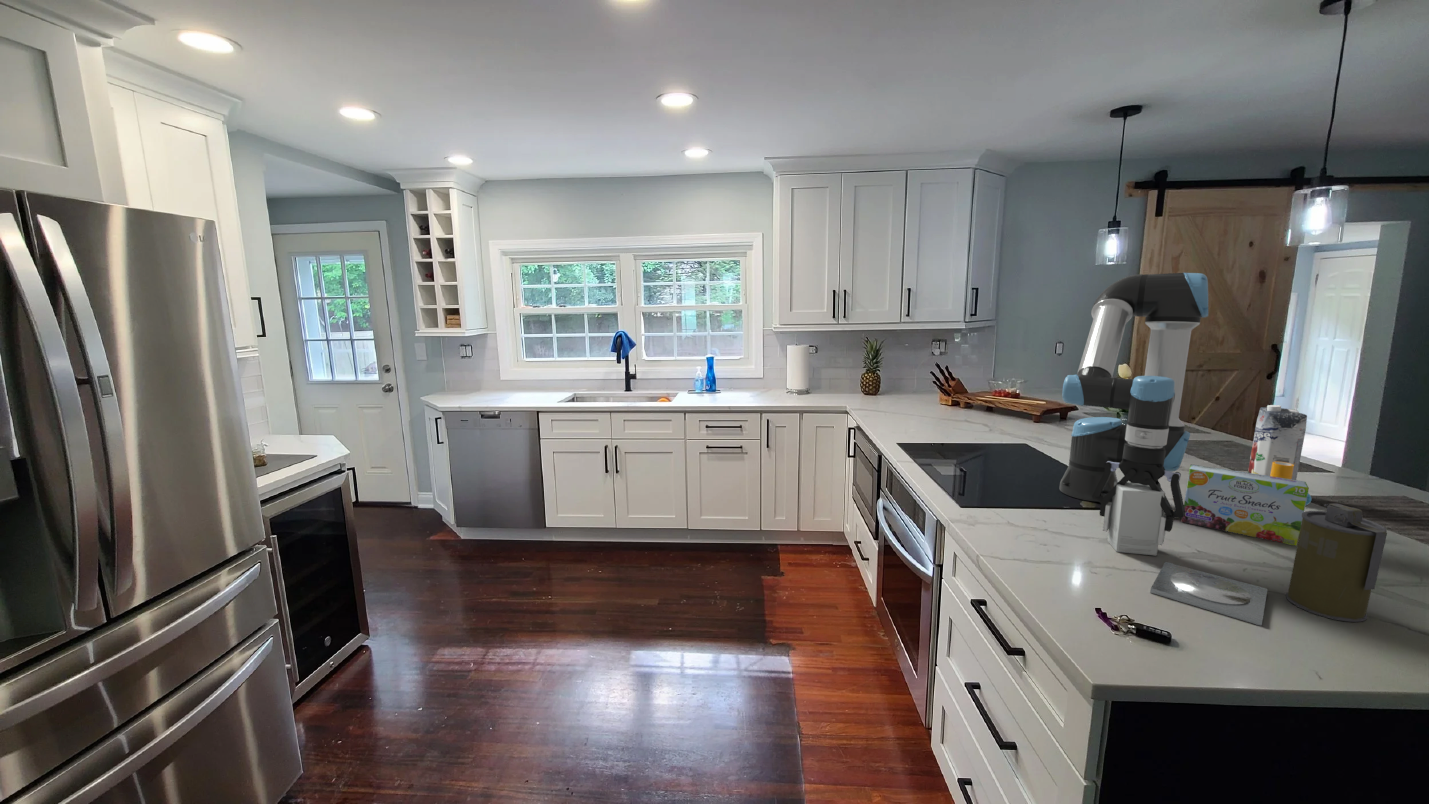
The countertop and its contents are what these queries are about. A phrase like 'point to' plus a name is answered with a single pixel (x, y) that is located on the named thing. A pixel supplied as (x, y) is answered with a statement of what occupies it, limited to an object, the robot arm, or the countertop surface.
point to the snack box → (1245, 503)
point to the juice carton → (1277, 439)
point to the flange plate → (1211, 592)
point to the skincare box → (1135, 519)
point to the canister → (1336, 563)
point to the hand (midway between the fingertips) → (1132, 536)
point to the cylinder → (1284, 473)
